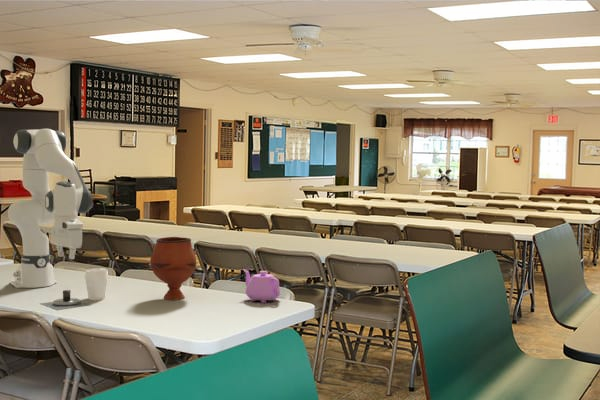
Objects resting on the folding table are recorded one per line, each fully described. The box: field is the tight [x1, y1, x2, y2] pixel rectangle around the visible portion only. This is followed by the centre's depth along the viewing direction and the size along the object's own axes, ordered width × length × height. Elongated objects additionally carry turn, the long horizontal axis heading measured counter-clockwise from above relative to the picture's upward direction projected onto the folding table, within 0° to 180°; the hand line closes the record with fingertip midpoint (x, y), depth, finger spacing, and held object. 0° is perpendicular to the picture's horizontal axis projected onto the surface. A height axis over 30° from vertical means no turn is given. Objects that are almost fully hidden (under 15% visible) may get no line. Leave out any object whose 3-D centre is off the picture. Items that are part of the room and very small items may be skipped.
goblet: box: [149, 236, 197, 301], centre depth 292 cm, size 19×19×25 cm
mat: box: [39, 300, 91, 311], centre depth 277 cm, size 16×14×1 cm
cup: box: [84, 268, 109, 301], centre depth 289 cm, size 9×9×12 cm
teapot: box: [242, 269, 281, 304], centre depth 290 cm, size 20×14×12 cm
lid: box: [52, 289, 81, 306], centre depth 278 cm, size 10×10×5 cm
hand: (66, 257), depth 277 cm, fingers open, 8 cm apart
